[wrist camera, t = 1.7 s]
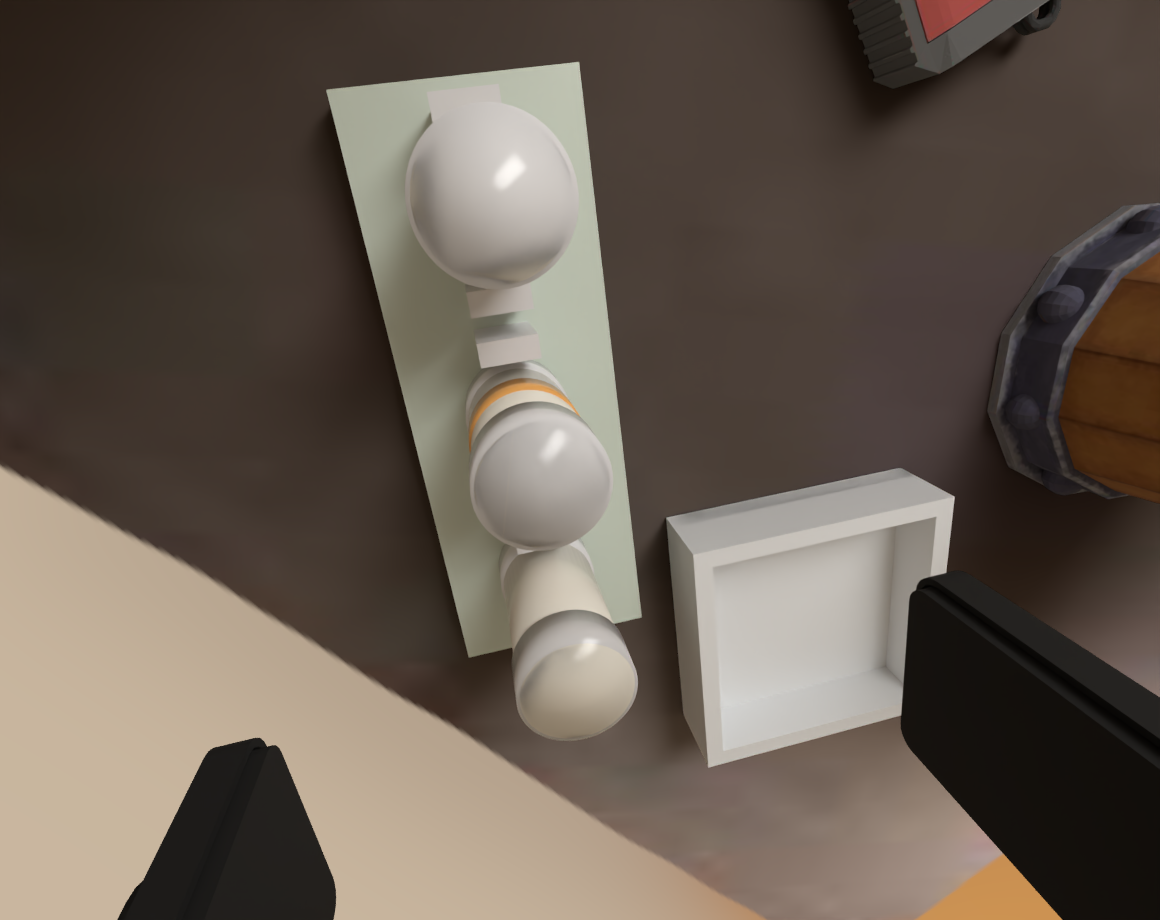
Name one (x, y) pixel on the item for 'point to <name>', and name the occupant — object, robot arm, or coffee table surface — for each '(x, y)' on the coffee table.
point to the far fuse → (564, 644)
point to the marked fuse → (533, 459)
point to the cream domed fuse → (491, 195)
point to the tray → (800, 608)
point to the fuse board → (486, 325)
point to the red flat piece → (937, 32)
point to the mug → (1087, 365)
